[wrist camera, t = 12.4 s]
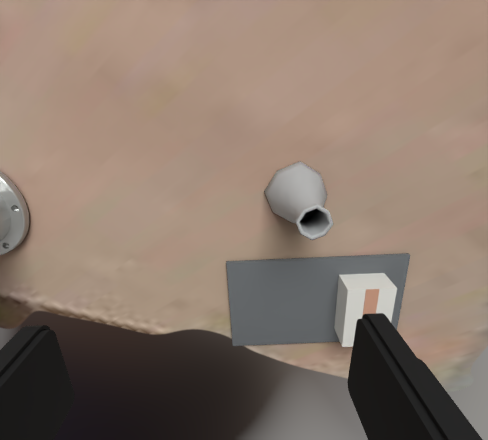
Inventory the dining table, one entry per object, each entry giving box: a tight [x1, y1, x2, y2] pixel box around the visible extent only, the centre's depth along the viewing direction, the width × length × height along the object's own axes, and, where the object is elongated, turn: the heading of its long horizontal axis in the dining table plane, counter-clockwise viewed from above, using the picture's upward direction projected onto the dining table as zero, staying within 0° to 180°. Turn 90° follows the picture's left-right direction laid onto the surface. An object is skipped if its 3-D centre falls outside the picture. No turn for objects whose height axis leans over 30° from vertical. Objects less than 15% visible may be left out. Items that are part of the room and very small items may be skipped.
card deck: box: [334, 273, 397, 347], centre depth 38 cm, size 9×6×4 cm, turn 2°
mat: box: [226, 253, 410, 346], centre depth 40 cm, size 24×14×1 cm, turn 93°
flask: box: [264, 161, 333, 240], centre depth 30 cm, size 7×7×10 cm
